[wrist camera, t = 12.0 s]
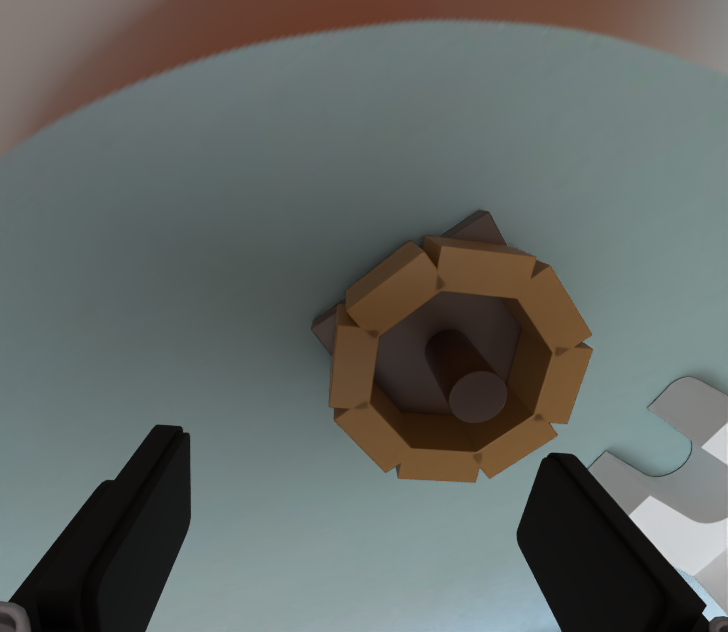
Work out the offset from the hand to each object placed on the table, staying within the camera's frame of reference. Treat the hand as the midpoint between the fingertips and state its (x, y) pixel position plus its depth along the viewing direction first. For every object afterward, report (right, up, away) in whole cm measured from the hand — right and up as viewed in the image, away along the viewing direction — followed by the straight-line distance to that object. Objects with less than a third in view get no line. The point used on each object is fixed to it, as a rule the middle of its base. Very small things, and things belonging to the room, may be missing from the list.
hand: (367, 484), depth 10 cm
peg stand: (+4, +3, +11) cm, 12 cm away
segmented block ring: (+4, +3, +10) cm, 11 cm away
